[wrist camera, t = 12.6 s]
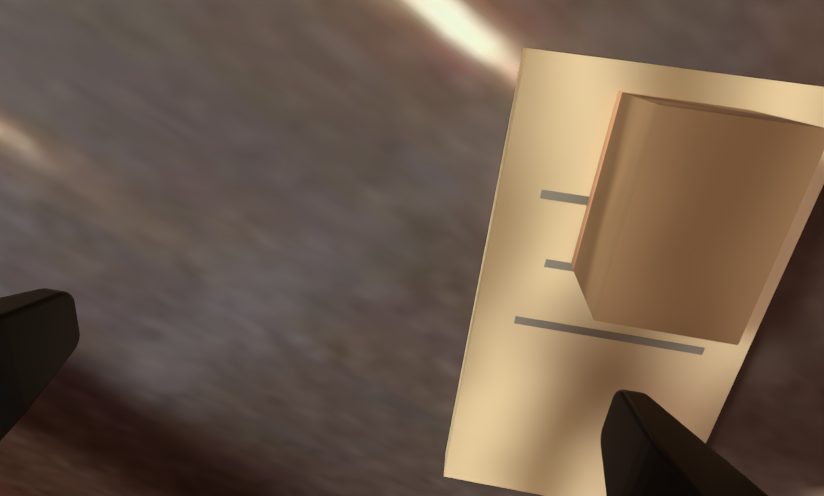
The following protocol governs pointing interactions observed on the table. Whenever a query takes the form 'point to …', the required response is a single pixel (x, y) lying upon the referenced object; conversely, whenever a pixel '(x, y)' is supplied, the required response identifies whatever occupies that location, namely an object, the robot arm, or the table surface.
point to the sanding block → (690, 214)
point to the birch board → (561, 294)
